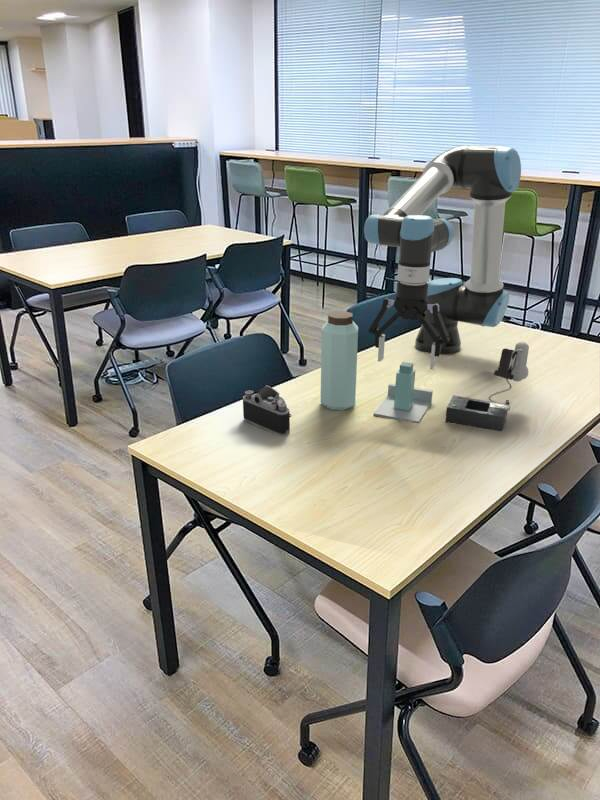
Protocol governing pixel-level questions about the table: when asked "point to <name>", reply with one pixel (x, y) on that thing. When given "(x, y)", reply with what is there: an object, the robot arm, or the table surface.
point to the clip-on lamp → (513, 365)
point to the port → (477, 413)
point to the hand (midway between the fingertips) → (406, 363)
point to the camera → (267, 410)
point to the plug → (404, 386)
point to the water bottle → (339, 361)
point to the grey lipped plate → (415, 414)
